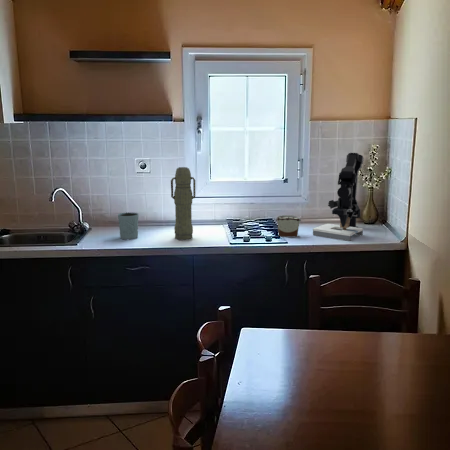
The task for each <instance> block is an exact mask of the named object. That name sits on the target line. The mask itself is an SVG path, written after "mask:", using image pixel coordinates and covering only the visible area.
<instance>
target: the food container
mask: <svg viewBox="0 0 450 450" xmlns="http://www.w3.org/2000/svg"><path fill="white" fill-rule="evenodd" d="M300 222H302V220H301V217H300V216H297V215H293V214H292V215H290V214H287V215H285V214H284V215H279V216H278V215H277V217H276V223H277V232H278V233H277V234H278V237H279V236H281V237H283V238H284V237H286V238H287V237H288V238H298V237H299V236H298V234H299V228H300Z"/></svg>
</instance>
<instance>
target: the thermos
mask: <svg viewBox="0 0 450 450" xmlns="http://www.w3.org/2000/svg"><path fill="white" fill-rule="evenodd" d="M192 180H193V181H192ZM174 182H175V183H174ZM192 183H193V187H191V184H192ZM174 184H175V189H174ZM192 189H193V190H192ZM170 191H171V192H170V194H171V195H170V198H172V199H173V200H174V209H175V223H174V239H175V240H178V241H189V240H192V239H193V233H194V230H193V229H194V227H193V221H192V205H193V200H194V199H195V198H196V178H194V176H192V174H191V170H190V168H188V167H187V166H186V167H185V166H181V167H179V166H178V167H177V168H176V170H175V175H174V177H172V178H171V180H170Z"/></svg>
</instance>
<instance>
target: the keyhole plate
mask: <svg viewBox="0 0 450 450" xmlns="http://www.w3.org/2000/svg"><path fill="white" fill-rule="evenodd" d="M354 234H355V235H354ZM363 234H364V228H363V227H358V228H356V227H348V228H346V230H343V228H341V227H340V224H333V223H324V224H322V225H319V226H316V227H314V228H312V236H316V237H322V238H327V239H328V238H329V239H333V240H340V241H348V242H349V241H350V242H351V241H352V236H353V235H354V236H360V235H361V236H364V235H363Z"/></svg>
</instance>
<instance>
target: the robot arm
mask: <svg viewBox="0 0 450 450" xmlns="http://www.w3.org/2000/svg"><path fill="white" fill-rule="evenodd" d="M345 159H346V161H345V162H346V164H345V167H343V168H341V170H340V172H339V173H338V181H337V185H338V186H340V187H339V188H338V189H337V191H336V192H337V197H338V200H334V199H331V200H328V203H327V206H328V207H329V209H330V210H331V209H332V210H331V214H332V215H336V216H338V217H339V222H340V221H341V225H342V227H344V226H345V224H346V221H347V218H348V217H350V224H349V227H356V228H359V226H357V219H359V218H361V209H360V206H359V203H358V199H357V193H358V192H357V190H358V179H359V172H360V170H361V169H362V168H363V164H364V161H365V159H364V156H363V155H362V154H359V153H358V152H348V153H347V154H346V158H345Z"/></svg>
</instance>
